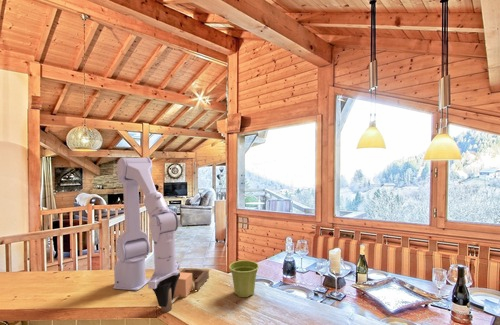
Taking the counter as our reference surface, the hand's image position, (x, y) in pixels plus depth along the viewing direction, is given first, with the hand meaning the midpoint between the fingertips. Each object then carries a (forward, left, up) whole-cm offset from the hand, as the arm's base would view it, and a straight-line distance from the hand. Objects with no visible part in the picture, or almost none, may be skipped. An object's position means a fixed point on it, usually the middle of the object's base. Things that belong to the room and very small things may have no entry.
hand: (166, 302), depth 79 cm
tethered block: (0, +5, -2) cm, 6 cm away
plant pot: (+20, +13, -2) cm, 24 cm away
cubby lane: (0, +17, -2) cm, 17 cm away
